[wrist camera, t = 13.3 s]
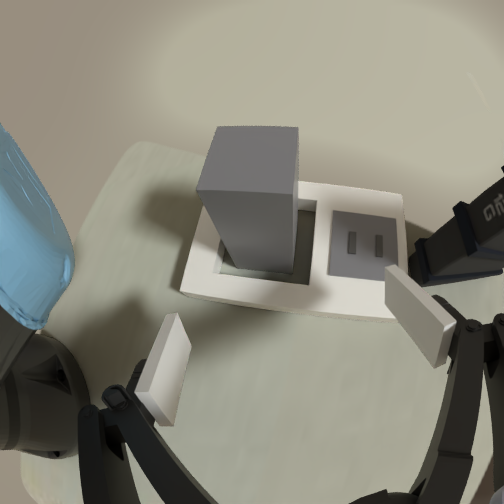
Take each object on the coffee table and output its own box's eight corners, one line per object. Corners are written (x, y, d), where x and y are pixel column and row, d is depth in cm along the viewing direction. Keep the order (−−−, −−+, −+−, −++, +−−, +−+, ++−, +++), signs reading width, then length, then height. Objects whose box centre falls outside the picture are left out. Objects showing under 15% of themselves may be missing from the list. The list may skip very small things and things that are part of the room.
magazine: (381, 249, 22) (520, 151, 9) (453, 262, 26) (550, 204, 13) (388, 291, 20) (547, 205, 7) (459, 292, 24) (563, 240, 11)
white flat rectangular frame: (187, 296, 24) (178, 289, 22) (217, 187, 29) (211, 173, 27) (398, 323, 21) (409, 318, 19) (395, 205, 25) (402, 192, 23)
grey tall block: (236, 268, 25) (195, 189, 14) (246, 218, 27) (217, 125, 16) (292, 273, 24) (292, 194, 13) (297, 222, 26) (298, 126, 15)
